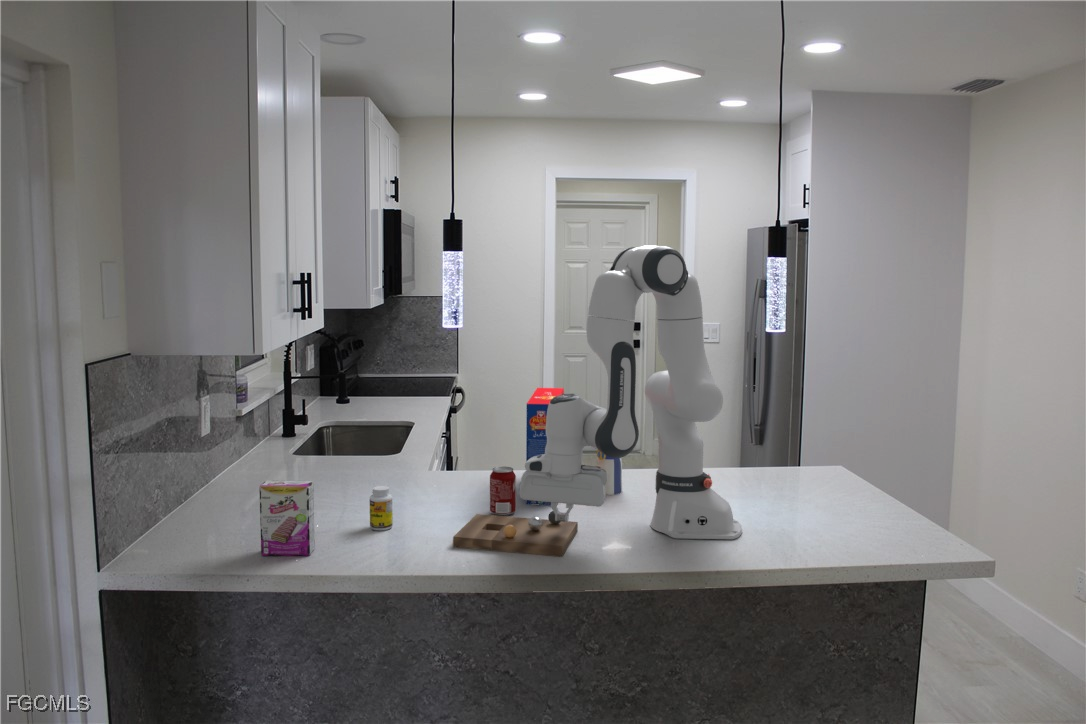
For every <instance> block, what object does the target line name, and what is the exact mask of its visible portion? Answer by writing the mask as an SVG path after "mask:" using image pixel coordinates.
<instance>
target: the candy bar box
mask: <svg viewBox="0 0 1086 724" xmlns="http://www.w3.org/2000/svg"><path fill="white" fill-rule="evenodd" d="M314 491H315V490H314V481H312V480H264V482H262V483H261V484H260V485H259V519H260V521H259V522H260V524H259V525H260V555H261V557H262V556H266V557H267V556H270V557H271V556H275V557H278V556H280V557H281V556H283V557H285V556H287V557H292V556H293V557H294V556H296V557H298V556H299V557H300V556H301V557H305V556H306V557H310V556H311V555H312V553H313V552H314V551H315V549H316V548H315V547H316V542H315V503H314V502H315V500H314V499H315V496H314V495H315V494H314V493H315V492H314Z"/></svg>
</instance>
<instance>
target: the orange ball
mask: <svg viewBox="0 0 1086 724" xmlns="http://www.w3.org/2000/svg"><path fill="white" fill-rule="evenodd" d="M516 532H517V530H516V528H515V526H513V525H507V526H506V527H505V528H504V534H505V536H506V537H508V538H512V537H514V536H515V535H516Z"/></svg>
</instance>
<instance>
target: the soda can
mask: <svg viewBox="0 0 1086 724" xmlns="http://www.w3.org/2000/svg"><path fill="white" fill-rule="evenodd" d="M516 477H517V476H516V473H515V472H514V468H513V467H512V466H506V465H505V466H496V467H495V466H494V467H492V472H491V473H490V475H489V512H490V513H492V515H495V516H508V517H510V516H511V515H513V514H515V512H516V507H517V506H516V504H517V502H516V497H517V495H516V493H517V490H516V488H517V485H516V484H517V478H516Z"/></svg>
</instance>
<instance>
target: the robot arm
mask: <svg viewBox="0 0 1086 724" xmlns="http://www.w3.org/2000/svg"><path fill="white" fill-rule="evenodd" d="M643 293H645V294H648V293H649V294H650V293H651V294H652V295H653V297H654V299H655V303H656V327H657V329H656V333H657V334H656V335H657V348H658V349H657V350H658V352H659V354H660V356H661V357H662V359H663V361H664V363H665V366H666V370H660V371H656V372H654V373H653V374H651V375H650V376H649V378H648V379H647V381H646V383H645V386H644V394H645V398H646V400H647V402H648V403H649V405H650V407H651V411H652V415H653V419H654V423H655V425H654V426H655V428H656V434H657V442H658V447H657V448H658V449H657V450H658V451H657V452H658V453H657V454H658V456H657V457H658V458H657V459H658V461H657V464H658V465H657V470H656V473H655V484H654V485H655V487H654V488H655V489H654V490H655V493H656V495H655V504H654V505H655V506H654V509H653V513H652V518H651V520H650V523H649V524H650V525H649V526H650V527H651V528H652V529H653V530H654V531H657V532H659V533H663V534H665V535H667V536H669V538H671V539H688V540H689V539H691V540H692V539H693V540H695V539H696V540H735V539H738V538H739V537H740V536H741V535H742V531H743V529H742V524H741V523H740V522H739V521H738V520H736V519H734V513H733V510H732V507H731V505H730V503H729V502H728V501H727V500H726V499H725V498H724V497H722V496H721V495H719V494H718V492H716V491H715V490H714V489H713V488H711V487H712V486H713V480H712V477H711V475H710V474H709V473H706V472H704V445H705V444H704V441H703V438H702V437H701V435H700V433H699V431H698V428H697V424H696V423H704V422H705V423H707V422H711V421H713V420H714V419H715V418H716V417H717V416H718V415H719V414H720V413H721V410H722V409H723V405H724V397H723V393H722V391H721V389H720V387H719V386H718V385H717V384H716V382H715V379H714V378H713V375H712V372H711V369H710V366H709V363H708V359H707V355H706V349H705V343H704V342H705V340H704V339H705V338H704V321H703V319H704V318H703V317H704V316H703V304H702V296H701V290H700V287H699V283H698V279H697V278H696V277H695V276H694V275H693V274H691V273H689V271H688V269H687V265H686V261H685V259H684V257H683V256H682V254H681V253H680V252H679V251H677V250H676V249H675V248H673V247H671V246H670V247H669V246H666V245H649V244H647V245H643V246H638V247H637V246H631V247H628V248H626V249H623V250H622V251H621V252H619V253H618V254H617V256H616V257H615V259H614V261H613V263H612V265H611V267H610V268H609V270H608V271H605V272H602V273H601V274H599V275H598V276H597V278H596V280H595V282H594V286H593V289H592V292H591V295H590V300H589V307H588V313H587V320H586V339H587V344H588V347H589V348H590V349H591V350H592V351H593V353H594V354H595V355H597V357H598V358H599V359H600V360H601V362H602V363H603V365H604V367H605V369H606V372H607V405H606V407H601V406H599V405H596V404H594V403H593V402H590V401H588V400H586V399H584V398H583V397H582V396H581V395H580V394H577V393H564V394H562V395H558V396H556V397H554V398H553V399H551V401H550V403H549V405H548V409H547V417H546V436H547V444H546V447H545V454H542V455H538V456H534V457H532V458H530V459H529V460H528V461H527V462H526V461H525V462H524V463H525V464H524V468H525V471H524V472H523V473H522V476H521V478H520V486H519V497H520V498H521V499H522V500H525V501H526V500H532V501H543V502H551V505H550V507H551V509H552V511H553V512H554V514H555V521H562V522H568V521H569V514H571V513H570V512H571V511H572V510H573V508H574V506H575V505H576V506H587V507H596V508H597V507H599V508H600V507H602V506H603V505H604V504H605V502H606V500H607V499H606V498H607V497H606V492H605V484H606V482H607V472H606V471H605V470H604V469H602V468H601V467H600V466H597V465H588V464H587V465H586V464H583V452H584V451H583V450H584V448H585V447H591V448H593V449H595V450H596V451H597V450H599V451H601V452H602V453H604V454H605V455H606V456H608V457H610V458H621V459H622V458H624V457H626V456H627V455H629V454H631V453H632V451H633V450H634V449H635V448H636V446H637V443H638V440H639V437H640V430H639V425H638V422H637V417H636V381H637V380H636V376H637V371H636V370H637V364H636V362H637V361H636V354H635V353H636V352H635V348H634V346H635V345H634V332H635V331H634V329H635V321H636V320H635V319H636V310H637V309H636V308H637V304H638V302H639V299H640V297H642V295H643ZM601 470H603V471H601ZM559 504H565V508H566V509H567V510H566V511H565V512H562V511H560V510H559V508H558V505H559Z"/></svg>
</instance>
